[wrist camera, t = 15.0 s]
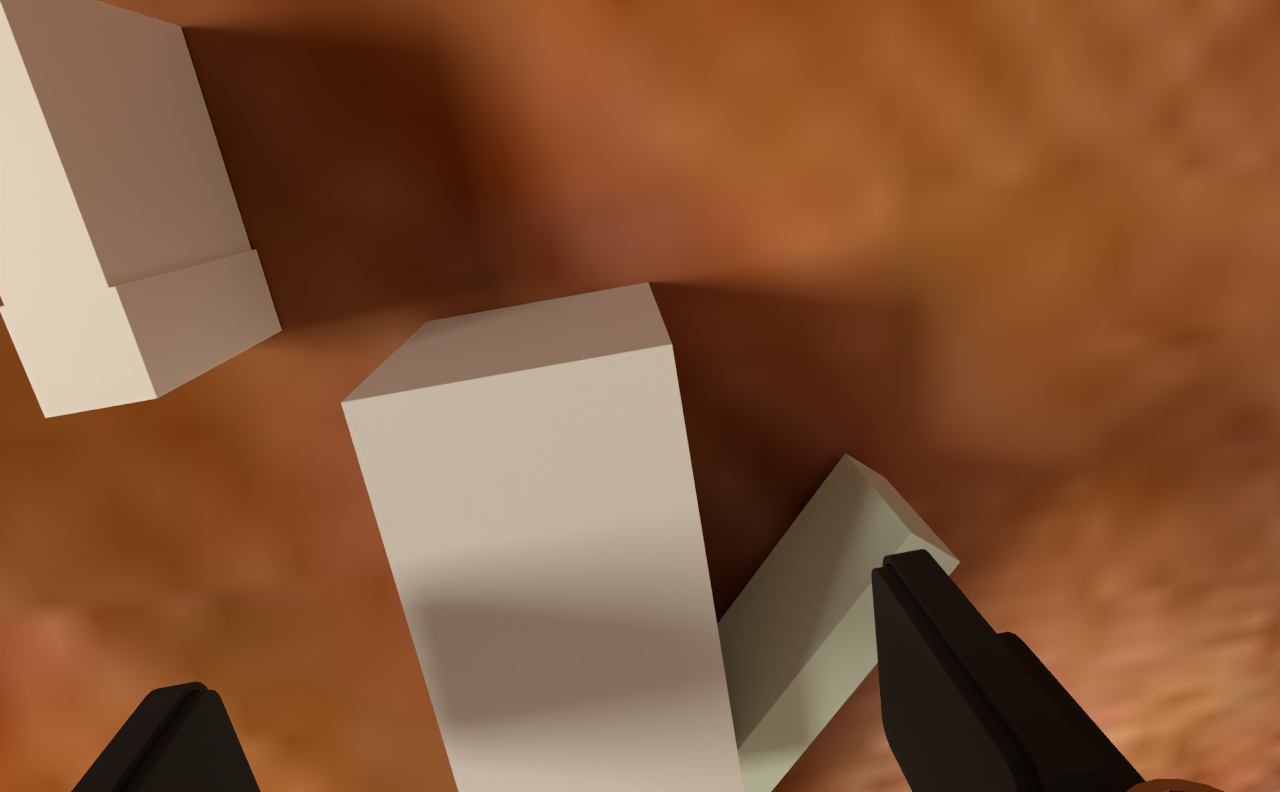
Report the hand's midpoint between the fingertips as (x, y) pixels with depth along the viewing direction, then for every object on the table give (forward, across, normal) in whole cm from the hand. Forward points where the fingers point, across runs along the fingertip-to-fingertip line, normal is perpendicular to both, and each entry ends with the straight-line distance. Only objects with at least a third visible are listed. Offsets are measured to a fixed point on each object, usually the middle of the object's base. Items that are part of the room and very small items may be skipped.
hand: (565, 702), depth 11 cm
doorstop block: (+8, 0, 0) cm, 8 cm away
